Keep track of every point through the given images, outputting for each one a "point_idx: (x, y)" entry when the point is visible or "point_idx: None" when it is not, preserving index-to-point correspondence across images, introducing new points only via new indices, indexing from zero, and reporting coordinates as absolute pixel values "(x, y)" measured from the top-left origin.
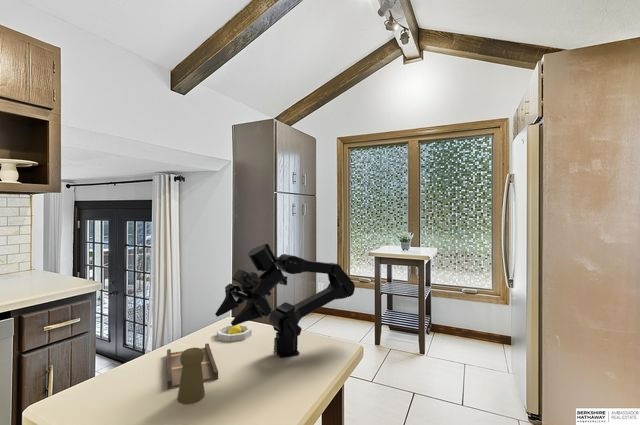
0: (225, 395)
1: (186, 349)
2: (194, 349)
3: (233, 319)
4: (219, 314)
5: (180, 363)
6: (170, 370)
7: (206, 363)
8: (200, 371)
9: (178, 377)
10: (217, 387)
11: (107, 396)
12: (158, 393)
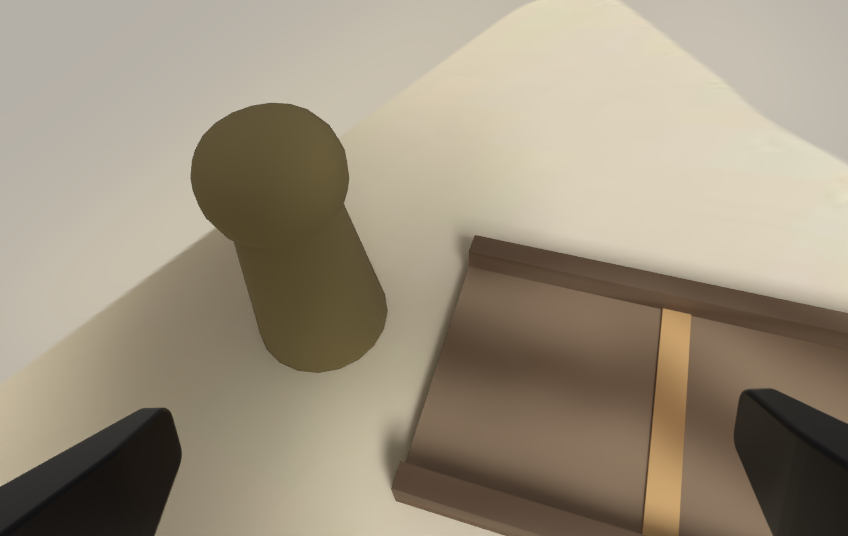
0: (193, 446)
1: (312, 123)
2: (249, 145)
3: (129, 436)
4: (759, 472)
5: (738, 375)
6: (603, 275)
7: (644, 516)
8: (240, 260)
9: (539, 311)
10: (303, 450)
11: (564, 103)
12: (461, 224)
